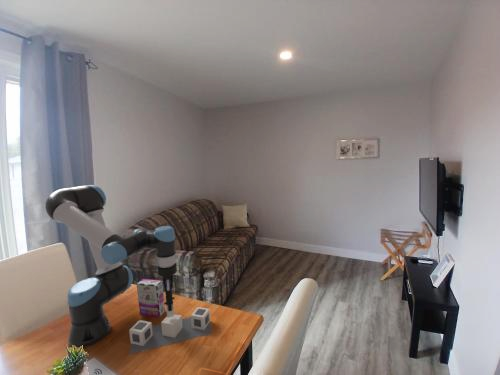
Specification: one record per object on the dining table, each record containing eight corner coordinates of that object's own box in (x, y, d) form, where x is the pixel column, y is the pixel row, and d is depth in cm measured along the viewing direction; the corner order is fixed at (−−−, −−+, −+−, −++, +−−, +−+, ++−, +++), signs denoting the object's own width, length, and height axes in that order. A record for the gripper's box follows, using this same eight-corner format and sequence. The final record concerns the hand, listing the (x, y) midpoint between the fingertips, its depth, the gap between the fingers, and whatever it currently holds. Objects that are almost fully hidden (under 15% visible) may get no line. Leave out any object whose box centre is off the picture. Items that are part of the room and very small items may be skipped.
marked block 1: (130, 343, 100) (128, 329, 99) (140, 332, 106) (139, 319, 105) (143, 346, 98) (141, 332, 97) (153, 335, 104) (151, 322, 103)
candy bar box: (165, 311, 121) (163, 280, 118) (159, 318, 116) (157, 285, 113) (146, 308, 123) (143, 278, 121) (139, 315, 118) (136, 283, 116)
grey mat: (129, 355, 95) (129, 354, 95) (134, 330, 108) (134, 329, 108) (212, 334, 104) (212, 333, 104) (207, 314, 118) (207, 313, 118)
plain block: (162, 335, 104) (161, 322, 103) (170, 325, 110) (169, 313, 109) (174, 337, 102) (173, 324, 102) (182, 327, 108) (181, 315, 107)
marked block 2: (191, 328, 108) (190, 315, 107) (198, 318, 114) (197, 306, 113) (204, 330, 106) (203, 317, 105) (210, 321, 112) (209, 308, 111)
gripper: (176, 269, 97) (180, 323, 100) (176, 256, 109) (179, 305, 112) (156, 272, 94) (160, 328, 98) (158, 258, 107) (161, 308, 110)
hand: (170, 315), depth 105 cm, fingers closed
